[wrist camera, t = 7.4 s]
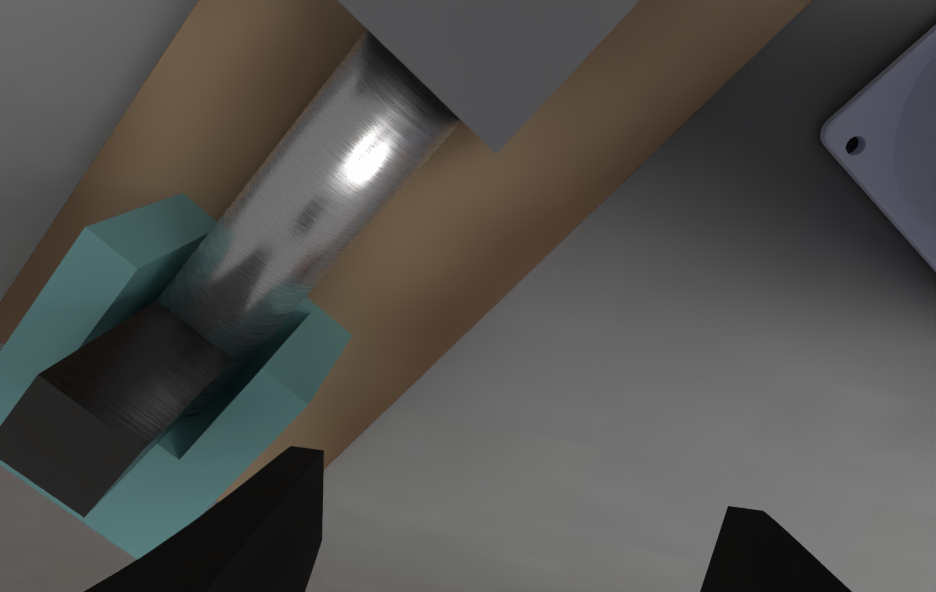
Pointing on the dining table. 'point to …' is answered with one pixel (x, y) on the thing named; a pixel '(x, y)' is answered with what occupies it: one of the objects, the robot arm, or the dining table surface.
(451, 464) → the dining table surface
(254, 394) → the teal cradle
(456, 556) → the dining table surface
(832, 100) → the dining table surface
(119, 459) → the silver elongated piece
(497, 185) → the walnut board
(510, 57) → the sleeve
